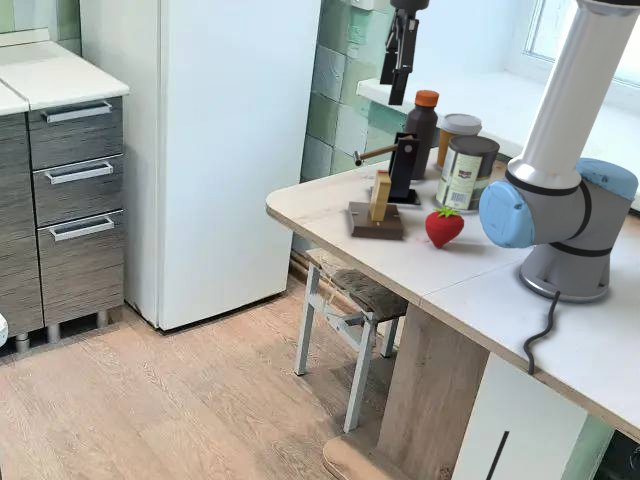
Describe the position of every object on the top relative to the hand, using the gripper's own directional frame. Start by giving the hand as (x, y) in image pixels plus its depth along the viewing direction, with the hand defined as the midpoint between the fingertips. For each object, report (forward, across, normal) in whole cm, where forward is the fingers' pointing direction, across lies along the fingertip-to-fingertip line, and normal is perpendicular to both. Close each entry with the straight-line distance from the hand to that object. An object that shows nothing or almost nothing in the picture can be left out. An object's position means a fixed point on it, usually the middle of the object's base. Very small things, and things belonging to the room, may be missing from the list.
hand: (390, 94), depth 170 cm
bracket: (+22, -4, -5) cm, 23 cm away
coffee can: (+22, -4, -19) cm, 29 cm away
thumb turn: (+20, -17, +1) cm, 26 cm away
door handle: (+12, -4, -1) cm, 13 cm away
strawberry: (+22, -26, -10) cm, 36 cm away
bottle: (+22, +9, -10) cm, 26 cm away
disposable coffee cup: (+22, +17, -21) cm, 35 cm away
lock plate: (+22, -18, +1) cm, 28 cm away
